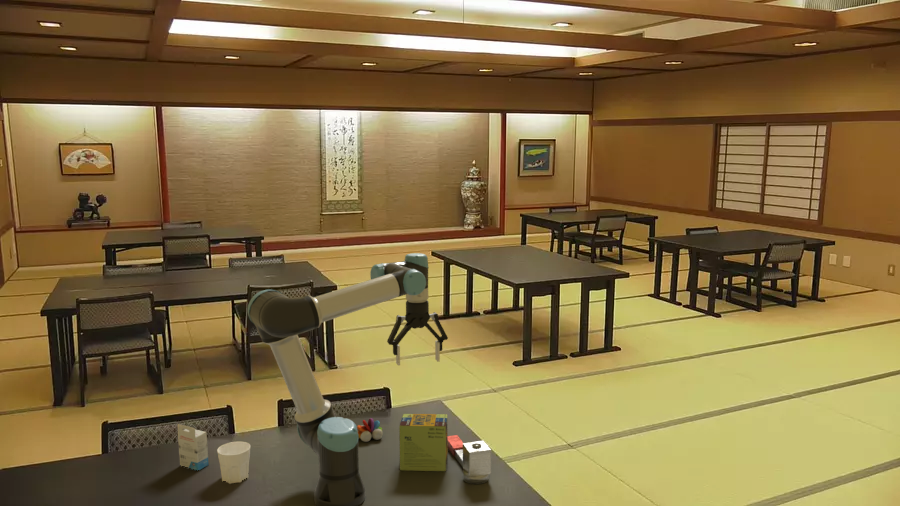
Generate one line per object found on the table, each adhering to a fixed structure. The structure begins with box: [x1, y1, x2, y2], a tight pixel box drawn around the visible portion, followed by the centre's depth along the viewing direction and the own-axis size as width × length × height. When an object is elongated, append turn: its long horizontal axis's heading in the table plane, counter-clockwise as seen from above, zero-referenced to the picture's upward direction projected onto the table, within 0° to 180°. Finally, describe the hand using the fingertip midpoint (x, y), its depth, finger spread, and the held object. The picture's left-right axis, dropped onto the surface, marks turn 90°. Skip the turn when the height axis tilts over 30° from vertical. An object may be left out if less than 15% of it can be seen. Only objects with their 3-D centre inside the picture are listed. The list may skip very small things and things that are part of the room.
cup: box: [216, 441, 251, 485], centre depth 218 cm, size 10×10×10 cm
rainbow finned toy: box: [356, 417, 384, 443], centre depth 248 cm, size 8×10×7 cm
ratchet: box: [448, 434, 490, 485], centre depth 228 cm, size 8×31×8 cm, turn 17°
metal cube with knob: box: [462, 440, 492, 477], centre depth 216 cm, size 7×7×8 cm
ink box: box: [177, 423, 209, 472], centre depth 226 cm, size 8×5×15 cm, turn 62°
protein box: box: [398, 413, 449, 472], centre depth 227 cm, size 10×15×16 cm
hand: (418, 362), depth 230 cm, fingers open, 13 cm apart
